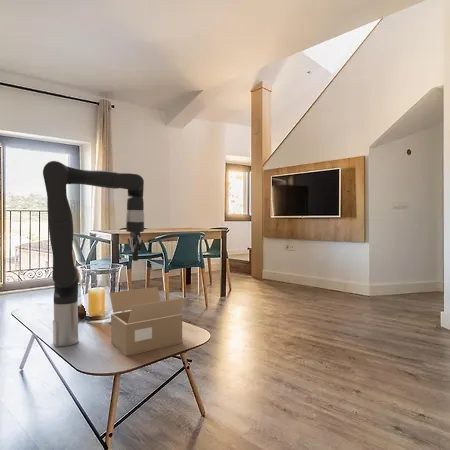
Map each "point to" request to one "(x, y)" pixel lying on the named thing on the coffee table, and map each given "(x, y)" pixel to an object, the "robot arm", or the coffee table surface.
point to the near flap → (156, 310)
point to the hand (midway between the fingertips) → (135, 260)
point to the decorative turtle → (81, 312)
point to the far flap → (133, 298)
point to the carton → (144, 333)
